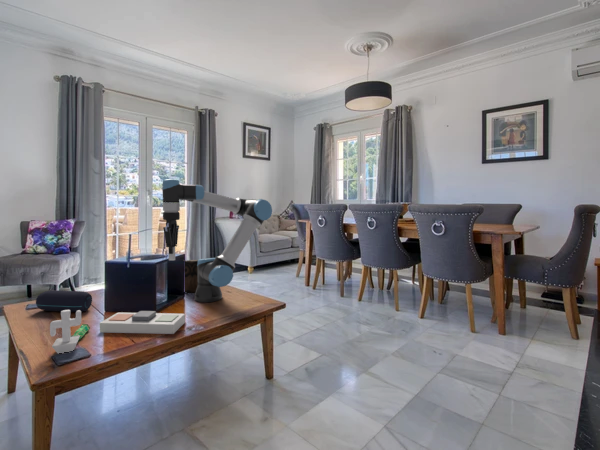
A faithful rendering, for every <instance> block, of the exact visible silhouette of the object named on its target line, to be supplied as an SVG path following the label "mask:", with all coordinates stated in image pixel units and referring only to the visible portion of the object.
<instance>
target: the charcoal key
mask: <svg viewBox="0 0 600 450" xmlns="http://www.w3.org/2000/svg"><path fill="white" fill-rule="evenodd" d="M135 313H136V314H135V315H133V316H132V321H145V322H149V321H150V320H151V319H153V318H154V317H155V316H156V313H157V311H156V310H139V311H138V312H135Z"/></svg>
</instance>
